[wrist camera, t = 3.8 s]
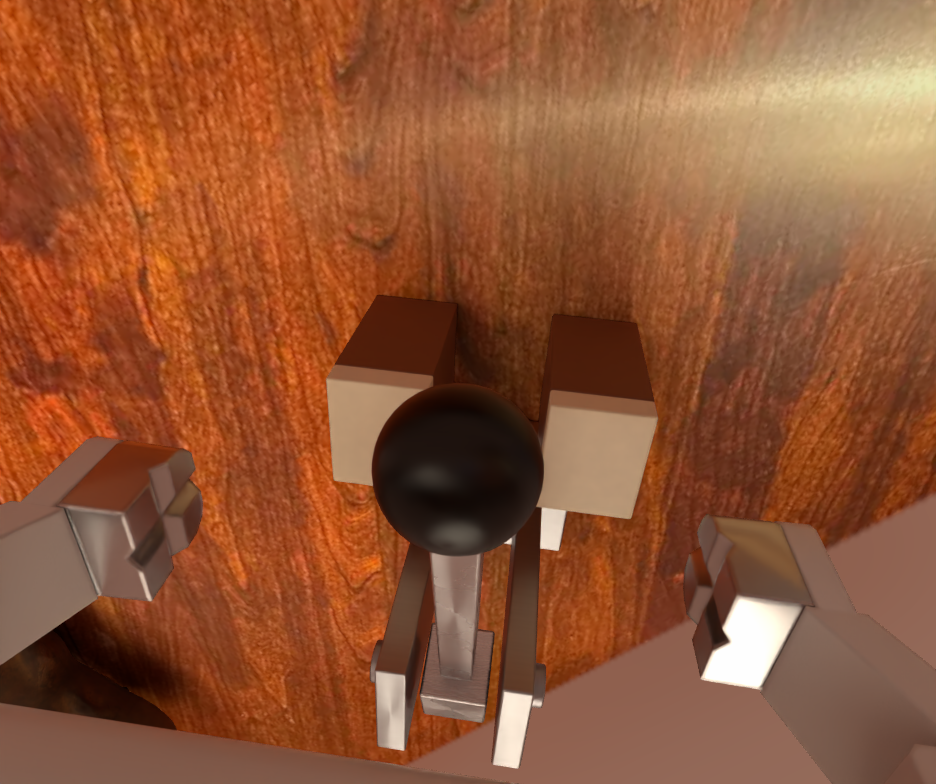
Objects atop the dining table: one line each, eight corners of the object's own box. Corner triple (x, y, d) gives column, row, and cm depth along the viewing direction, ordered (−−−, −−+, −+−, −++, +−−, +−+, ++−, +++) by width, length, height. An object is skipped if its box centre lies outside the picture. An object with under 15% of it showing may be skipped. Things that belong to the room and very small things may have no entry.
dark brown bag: (157, 748, 51) (98, 856, 44) (-94, 613, 45) (-202, 714, 39) (235, 691, 45) (181, 806, 38) (-40, 528, 39) (-157, 631, 33)
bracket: (410, 405, 30) (324, 637, 19) (580, 426, 29) (591, 677, 18) (409, 514, 34) (336, 759, 23) (559, 534, 33) (558, 796, 22)
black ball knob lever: (385, 338, 11) (339, 491, 9) (559, 357, 11) (547, 518, 9) (425, 635, 24) (410, 721, 22) (502, 647, 24) (493, 734, 22)
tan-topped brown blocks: (637, 322, 26) (658, 417, 20) (617, 412, 29) (631, 520, 23) (377, 294, 27) (325, 378, 21) (378, 383, 29) (333, 481, 24)
